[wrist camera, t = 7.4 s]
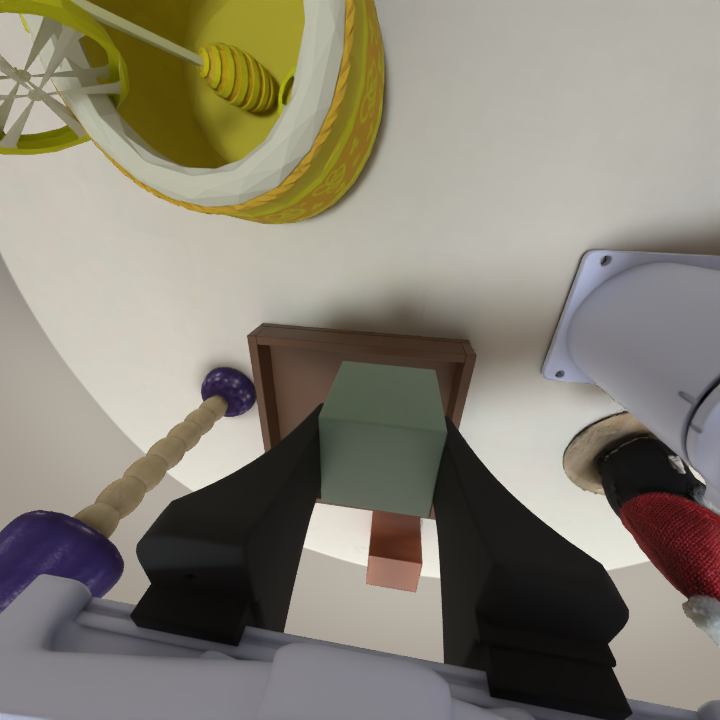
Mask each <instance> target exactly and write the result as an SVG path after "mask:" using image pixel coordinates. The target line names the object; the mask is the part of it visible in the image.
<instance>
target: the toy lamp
mask: <svg viewBox="0 0 720 720" xmlns="http://www.w3.org/2000/svg"><path fill="white" fill-rule="evenodd" d="M201 394H202V399H203V401H204V402H203V403H202V404H201V405H200V407H199V409H196V410H194V411H193V412H191V413H190V414H189V415H188V416H187V417H186V419H185V420H184V422H182V423H180V424H178V425H176V426H175V427H174V428H172V429H171V430H170V432H169V433H168V435H167V437H166V438H163V439H161V440H159V441H158V442H156V443H155V444H154V445H153V446H152V447H151V448H150V449H149V451H148V452H147V454H146V456H145V457H142V458H140V459H139V460H137V461H136V462H134V463H133V464H132V465H131V466H130V467H129V468H128V469H127V470H126V472H125V473H124V475H123V477H122V478H121V479H118V480H116V481H114V482H113V483H111V484H110V485H109V486H108V487H106V488H105V489H104V490H103V491H102V492H101V494H100V495H99V496H98V498H97V499H96V501H95V503H94V504H93V505H90V506H88V507H86V508H85V509H83V510H81V511H80V512H79V513H78V514H76V515H75V516H74V517H70V516H68V515H65V514H63V513H56V512H53V511H50V512H49V511H43V510H37V511H32V512H28V513H25V514H22V515H20V516H19V517H17V518H15V519H14V520H13V521H12V522H10V523H9V524H8V525H7V526H6V527H5V528H4V529H3V530H2V531H1V532H0V614H1V613H2V612H3V611H4V610H5V609H6V608H7V607H8V606H9V605H10V604H11V603H12V602H13V601H14V600H15V599H16V598H17V597H18V596H19V595H20V594H21V593H22V592H23V591H24V590H25V589H26V588H27V587H28V586H29V585H30V584H31V583H32V582H33V581H34V580H35V579H36V578H37V577H38V576H39V575H42V574H47V575H52V576H58V577H63V578H69V579H73V580H77V581H79V582H81V583H83V584H84V585H85V586H86V587H87V588H88V589H89V590H90V592H91V595H92V597H96V598H102V597H103V596H104V595H105V594H106V593H107V592H108V591H110V589H111V588H112V587H113V586H114V585H115V584H116V583H117V582H118V580H119V579H120V577H121V575H122V573H123V568H124V561H123V559H122V556H121V555H120V553H119V551H118V549H117V548H116V546H115V545H114V544H113V543H112V542H110V541H109V539H108V538H109V537H110V536H111V535H112V533H113V532H114V531H115V529H116V527H117V525H118V523H119V520H120V519H122V518H124V517H125V516H127V515H129V514H130V513H131V512H132V511H133V510H134V509H135V508H136V507H137V506H138V505H139V504H140V502H141V501H142V499H143V497H144V495H145V493H146V492H148V491H150V490H152V489H153V488H154V487H155V486H156V485H158V484H159V482H160V481H161V480H162V479H163V477H164V476H165V473H166V471H167V470H169V469H171V468H173V467H174V466H175V465H177V464H178V463H179V462H180V460H181V459H182V458H183V456H184V454H185V452H186V451H188V450H190V449H192V448H193V447H194V446H195V445H196V444H197V443H198V441H199V440H200V438H201V436H202V435H204V434H205V433H207V432H208V431H209V430H210V429H211V428H212V427H213V425H214V423H215V421H217V420H219V419H220V418H221V417H223V416H225V417H234V416H238V415H241V414H243V413H245V412H247V411H248V410H249V409H250V408H251V407H252V406H253V404H254V402H255V398H256V397H255V390H254V387H253V385H252V383H251V382H250V381H249V380H248V379H247V378H246V377H245V376H244V375H243V374H241V373H240V372H238V371H236V370H233V369H231V368H217V369H214V370H212V371H211V372H210V373H209V374H208V375H207V376H206V378H205V380H204V381H203V384H202V388H201Z"/></svg>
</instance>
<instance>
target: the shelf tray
mask: <svg viewBox="0 0 720 720" xmlns="http://www.w3.org/2000/svg"><path fill="white" fill-rule="evenodd" d="M247 338H248V344H249V351H250V357H251V364H252V371H253V377H254V384H255V390H256V397H257V403H258V410H259V416H260V423H261V430H262V436H263V443H264V449H265V453H266V452H267V451H269V450H270V449H271V448H272V447H274V446H275V445H276V444H278V443H279V442H280V441H281V440H282V439H284V438H285V437H286V436H287V435H288V434H289V433H291V432H292V431H293V430H294V429H295V428H296V427H297V426H298V425H299V424H300V423H301V422H302V421H303V420H304V419H305V418H306V417H307V416H308V415H309V414H310V413H311V412H312V411H313V410H314V409H315V408H316V407H317V406H318V405H319V404H321V403H325V401H326V399H327V396H328V394H329V392H330V389H331V387H332V385H333V382H334V380H335V378H336V375H337V373H338V371H339V368H340V366H341V364H342V362H343V361H348V362H359V363H369V364H379V365H390V366H400V367H410V368H421V369H431V370H435V371H436V376H437V381H438V386H439V391H440V396H441V401H442V407H443V412H444V416H448V417H450V419H451V420H452V422H453V423H454V425H455V426H456V428H457V429H459V425H460V421H461V417H462V413H463V409H464V405H465V401H466V397H467V393H468V388H469V384H470V380H471V376H472V372H473V368H474V364H475V360H476V354H475V352H474V350H473V348H472V346H471V344H470V342H469V341H468V340H457V339H445V338H433V337H420V336H408V335H396V334H384V333H372V332H359V331H347V330H335V329H323V328H310V327H298V326H286V325H274V324H261V325H260V326H259V327H257V328H256V329H255V330H254V331H252V332H251V333H250V334H249V335H247ZM315 503H322V504H329V505H336V506H343V507H350V508H357V509H364V510H371V511H378V512H385V513H392V514H399V515H406V516H413V517H420V516H414V515H407V514H401V513H394V512H387V511H381V510H374V509H368V508H361V507H355V506H348V505H341V504H335V503H328V502H323V501H322V500H321V489H320V491H319V494H318V497H317V500H316V502H315ZM420 518H427V519H434V520H436V519H435V513H434V507H433V501H432V505H431V510H430V514H429V517H420Z"/></svg>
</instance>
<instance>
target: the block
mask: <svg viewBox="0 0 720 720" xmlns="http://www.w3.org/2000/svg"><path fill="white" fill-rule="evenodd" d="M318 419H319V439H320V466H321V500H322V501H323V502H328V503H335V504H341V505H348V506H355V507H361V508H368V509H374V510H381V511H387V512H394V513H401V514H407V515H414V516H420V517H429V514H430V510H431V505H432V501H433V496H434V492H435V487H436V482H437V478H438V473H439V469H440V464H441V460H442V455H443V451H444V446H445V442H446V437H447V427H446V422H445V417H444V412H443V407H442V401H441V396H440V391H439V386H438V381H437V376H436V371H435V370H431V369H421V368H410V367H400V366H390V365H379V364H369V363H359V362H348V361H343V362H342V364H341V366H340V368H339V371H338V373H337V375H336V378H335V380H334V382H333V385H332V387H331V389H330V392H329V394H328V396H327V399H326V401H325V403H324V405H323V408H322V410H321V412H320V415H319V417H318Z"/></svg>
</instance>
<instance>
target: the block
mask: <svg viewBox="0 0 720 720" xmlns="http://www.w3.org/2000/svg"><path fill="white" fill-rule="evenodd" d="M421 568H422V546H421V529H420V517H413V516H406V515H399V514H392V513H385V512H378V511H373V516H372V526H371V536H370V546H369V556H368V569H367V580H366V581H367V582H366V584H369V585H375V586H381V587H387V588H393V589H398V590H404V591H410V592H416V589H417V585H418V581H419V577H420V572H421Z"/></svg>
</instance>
